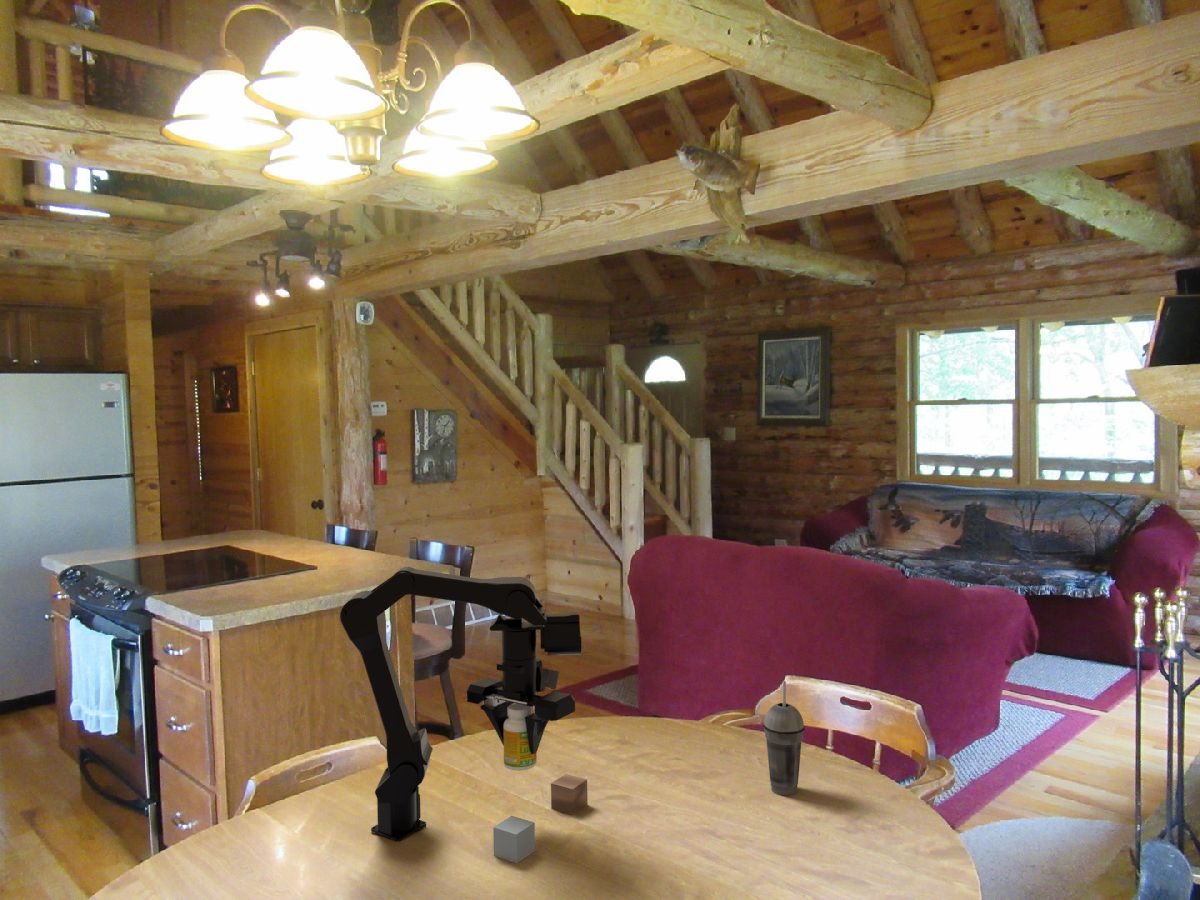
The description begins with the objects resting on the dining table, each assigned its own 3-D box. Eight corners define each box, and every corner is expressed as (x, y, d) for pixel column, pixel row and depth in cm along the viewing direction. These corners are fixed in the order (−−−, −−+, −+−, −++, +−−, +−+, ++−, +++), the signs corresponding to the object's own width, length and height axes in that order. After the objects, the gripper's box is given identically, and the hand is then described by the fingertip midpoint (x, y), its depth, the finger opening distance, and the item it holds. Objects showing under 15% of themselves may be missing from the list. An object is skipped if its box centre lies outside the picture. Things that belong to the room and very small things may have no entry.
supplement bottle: (521, 774, 137) (520, 714, 137) (497, 766, 140) (496, 707, 140) (543, 763, 141) (542, 705, 141) (519, 756, 145) (518, 699, 144)
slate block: (516, 863, 129) (516, 834, 129) (493, 856, 131) (493, 827, 131) (535, 851, 132) (534, 822, 132) (512, 843, 135) (511, 815, 135)
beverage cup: (802, 782, 156) (801, 673, 156) (807, 799, 149) (807, 686, 148) (761, 781, 157) (761, 673, 156) (765, 798, 150) (764, 685, 149)
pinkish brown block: (572, 815, 144) (572, 789, 144) (551, 809, 147) (550, 783, 147) (587, 805, 148) (587, 779, 148) (566, 799, 151) (565, 773, 150)
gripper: (593, 652, 142) (594, 745, 142) (506, 637, 152) (507, 724, 153) (553, 668, 133) (554, 768, 133) (463, 652, 143) (465, 744, 143)
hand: (520, 749), depth 141 cm, fingers closed on supplement bottle, 5 cm apart
